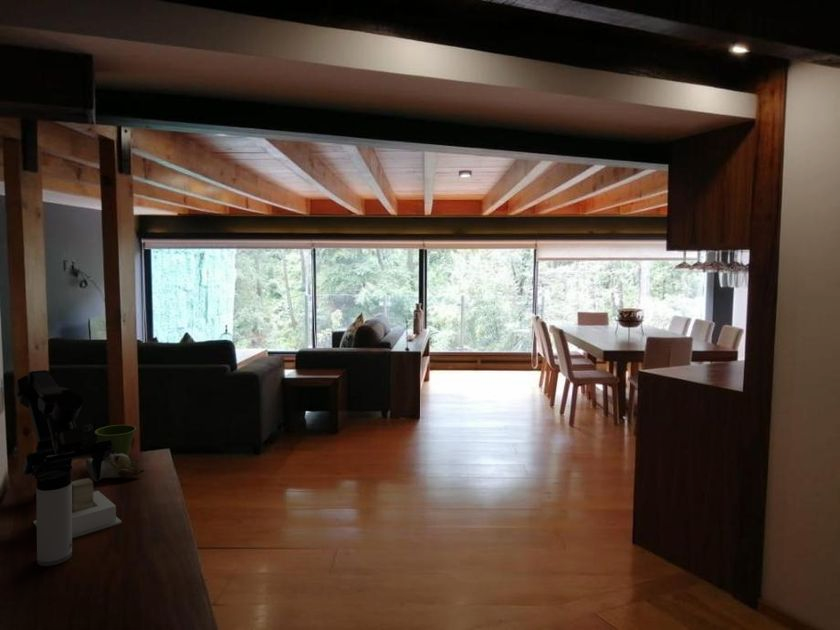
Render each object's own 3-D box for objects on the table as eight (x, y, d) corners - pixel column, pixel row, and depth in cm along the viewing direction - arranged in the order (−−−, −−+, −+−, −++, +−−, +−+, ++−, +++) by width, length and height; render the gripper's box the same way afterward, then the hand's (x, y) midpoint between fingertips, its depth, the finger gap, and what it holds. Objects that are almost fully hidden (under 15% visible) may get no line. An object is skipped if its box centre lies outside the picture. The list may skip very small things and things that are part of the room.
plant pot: (98, 472, 160) (98, 437, 160) (91, 461, 169) (91, 428, 168) (140, 464, 168) (140, 431, 167) (131, 454, 177) (131, 422, 176)
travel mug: (80, 554, 114) (80, 467, 113) (50, 569, 108) (49, 477, 106) (60, 548, 116) (59, 462, 115) (30, 563, 110) (29, 472, 108)
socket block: (33, 523, 127) (33, 505, 126) (101, 504, 138) (101, 488, 138) (50, 545, 117) (50, 526, 117) (121, 523, 128) (121, 505, 128)
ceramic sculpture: (84, 448, 156) (139, 443, 165) (82, 476, 156) (137, 469, 166) (88, 459, 148) (146, 453, 157) (86, 488, 148) (143, 480, 157)
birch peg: (70, 520, 128) (70, 481, 127) (88, 515, 131) (88, 477, 130) (74, 526, 125) (74, 486, 124) (93, 521, 128) (93, 482, 127)
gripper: (25, 422, 122) (37, 479, 116) (111, 409, 136) (126, 460, 130) (17, 445, 128) (29, 502, 121) (101, 431, 142) (115, 481, 136)
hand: (77, 485), depth 127 cm, fingers open, 9 cm apart
